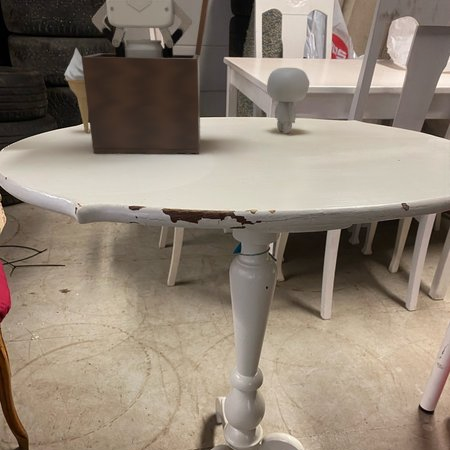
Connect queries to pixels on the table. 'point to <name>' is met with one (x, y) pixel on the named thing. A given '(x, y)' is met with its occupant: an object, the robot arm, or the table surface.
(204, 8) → the bin lid
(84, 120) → the ice cream cone
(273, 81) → the figurine
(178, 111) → the bin
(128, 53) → the beverage can
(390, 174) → the table surface
